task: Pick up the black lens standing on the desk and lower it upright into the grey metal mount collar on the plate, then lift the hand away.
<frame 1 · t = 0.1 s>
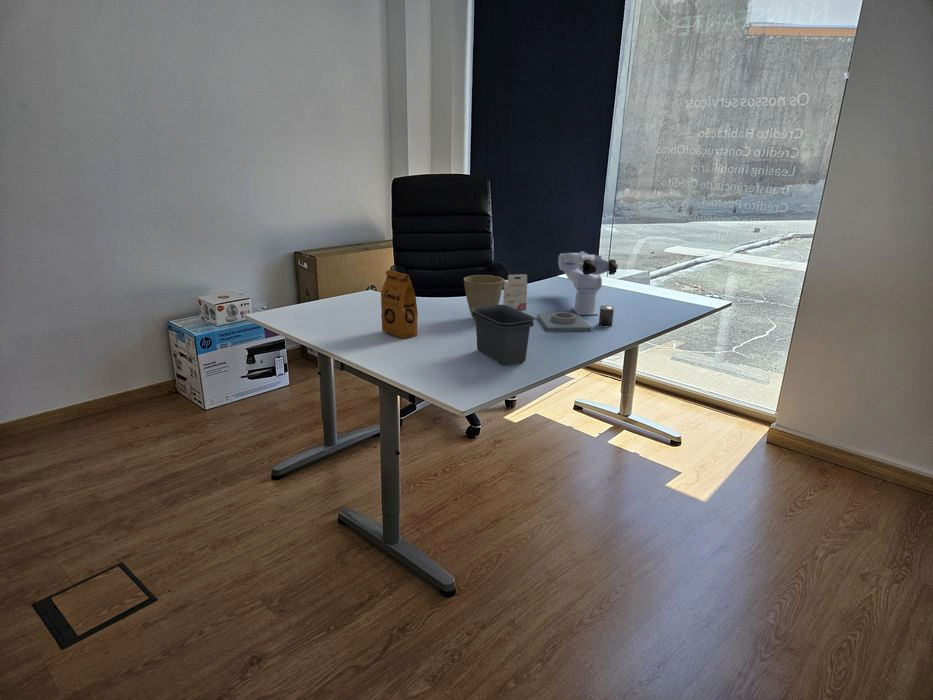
hand: (605, 269, 217), 22 cm above the table, tool horizontal, fingers open, 7 cm apart
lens: (605, 324, 227), on the table
coffee package: (400, 334, 210), on the table
ink cartridge box: (514, 309, 246), on the table
mount plate: (563, 324, 226), on the table
storage bin: (503, 356, 192), on the table
plant pot: (482, 320, 229), on the table
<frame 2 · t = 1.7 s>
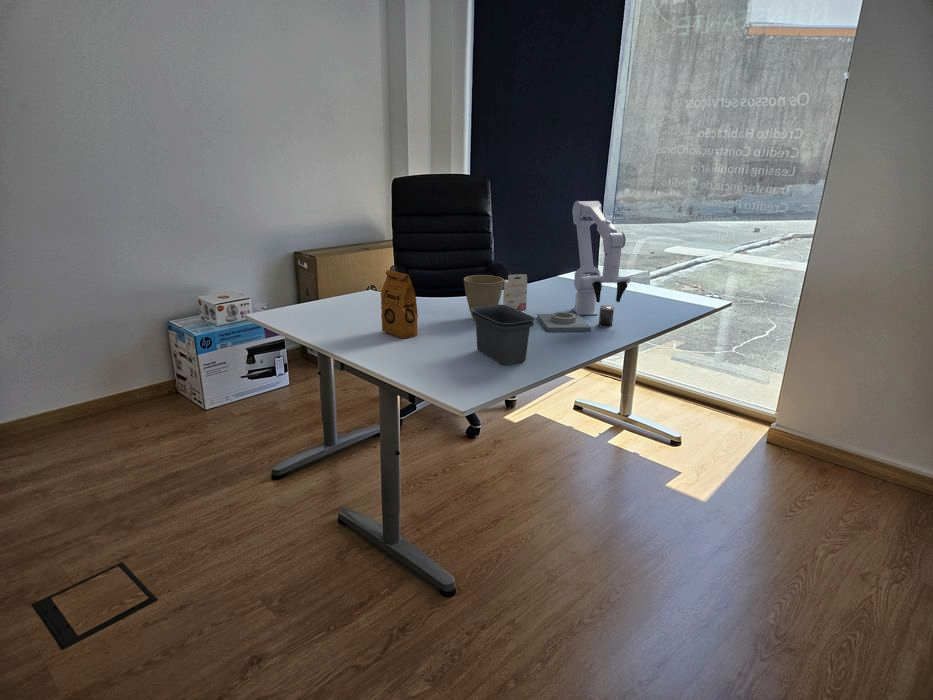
hand: (607, 301, 224), 9 cm above the table, tool pointing down, fingers open, 7 cm apart
nothing on the table moved.
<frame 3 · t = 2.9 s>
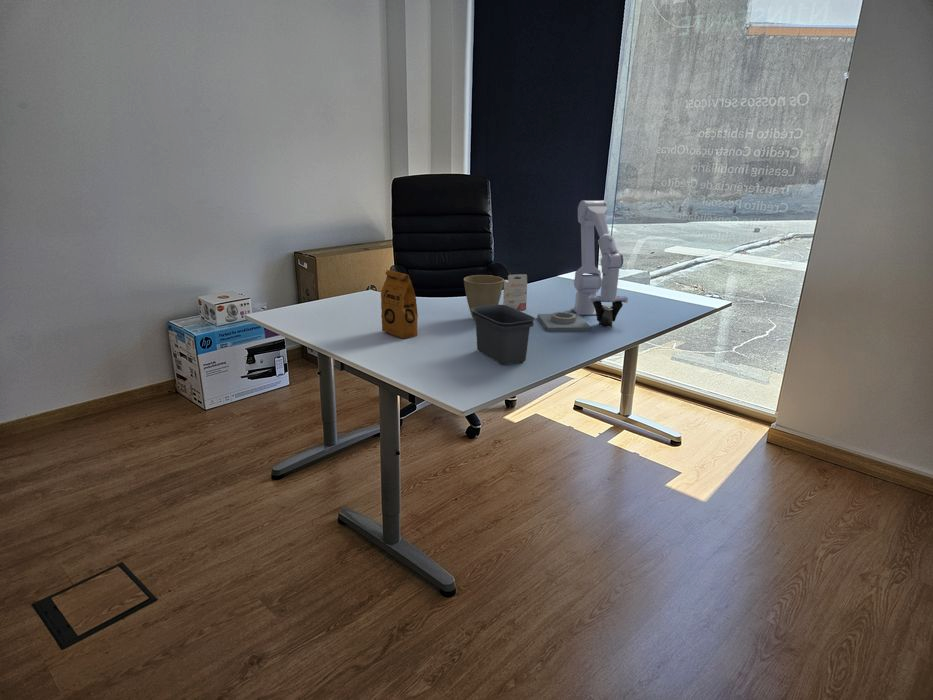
hand: (605, 320, 226), 2 cm above the table, tool pointing down, fingers closed on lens, 5 cm apart
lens: (605, 324, 227), on the table, touching gripper
everything else where it was.
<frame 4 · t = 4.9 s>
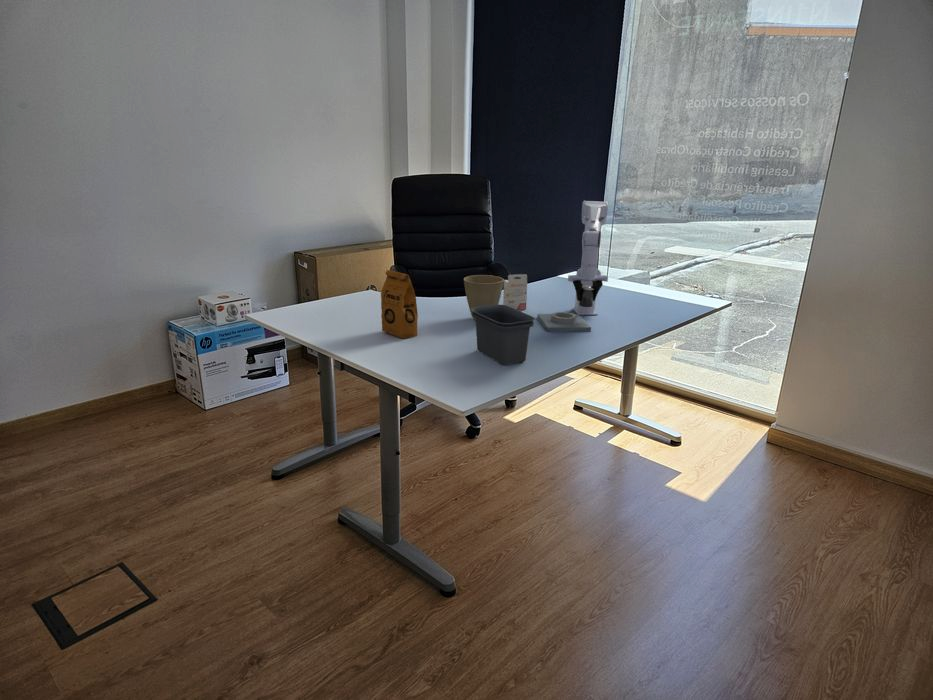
hand: (585, 300, 223), 9 cm above the table, tool pointing down, fingers closed on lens, 5 cm apart
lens: (585, 305, 224), point 8 cm above the table, touching gripper
everything else where it was.
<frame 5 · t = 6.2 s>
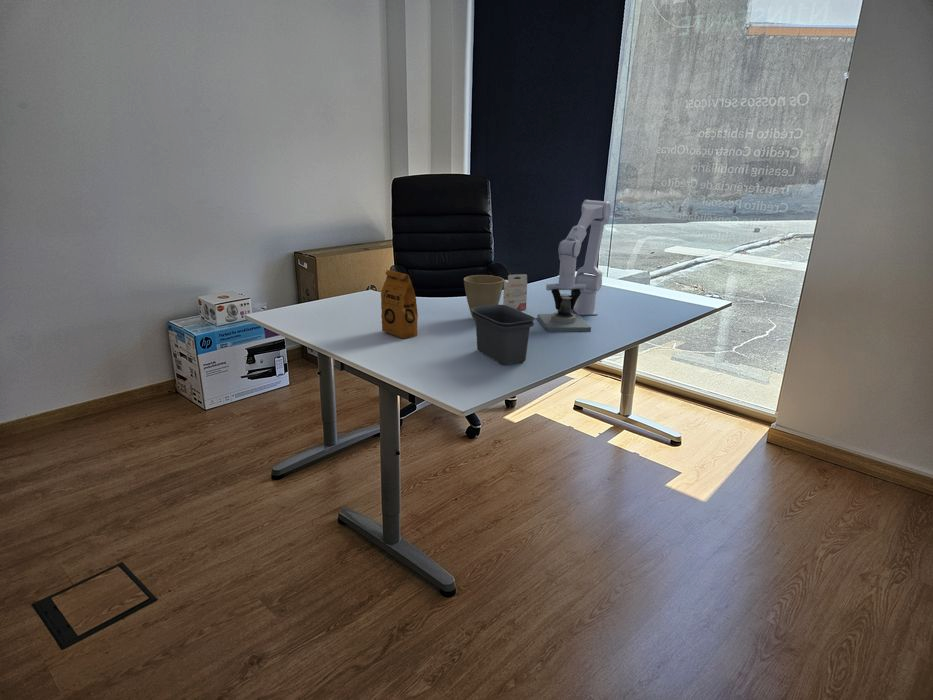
hand: (564, 309, 224), 6 cm above the table, tool pointing down, fingers closed on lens, 5 cm apart
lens: (564, 314, 225), point 4 cm above the table, touching gripper
everything else where it was.
when the fingers open (5 cm above the table, at t = 7.0 s): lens drops 1 cm, resting on mount plate.
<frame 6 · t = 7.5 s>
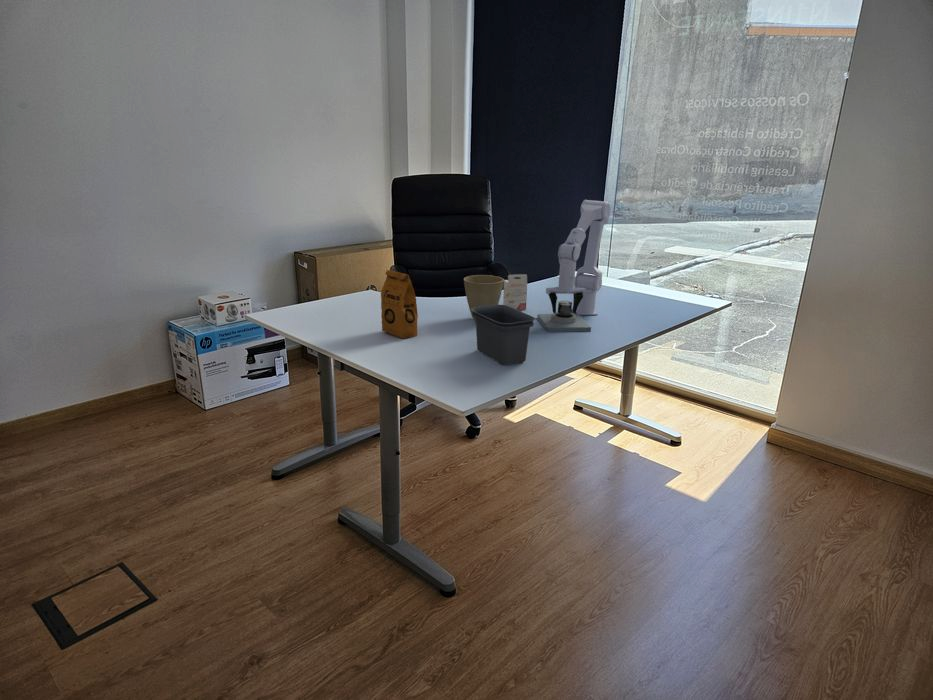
hand: (564, 312, 225), 5 cm above the table, tool pointing down, fingers open, 7 cm apart
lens: (563, 320, 226), point 1 cm above the table, touching mount plate
everything else where it was.
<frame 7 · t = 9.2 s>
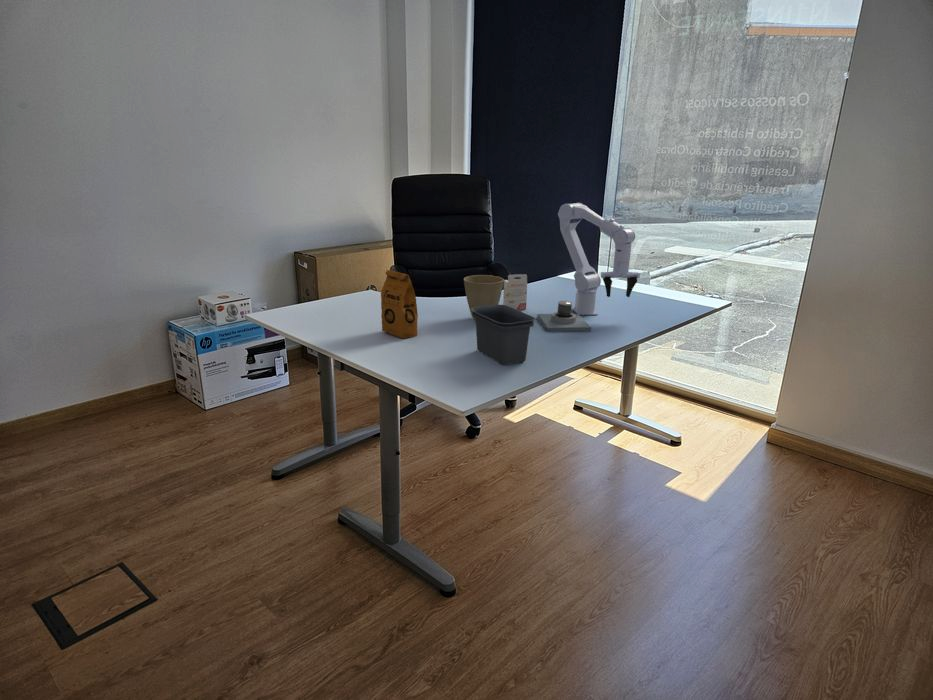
hand: (618, 296, 230), 9 cm above the table, tool pointing down, fingers open, 7 cm apart
nothing on the table moved.
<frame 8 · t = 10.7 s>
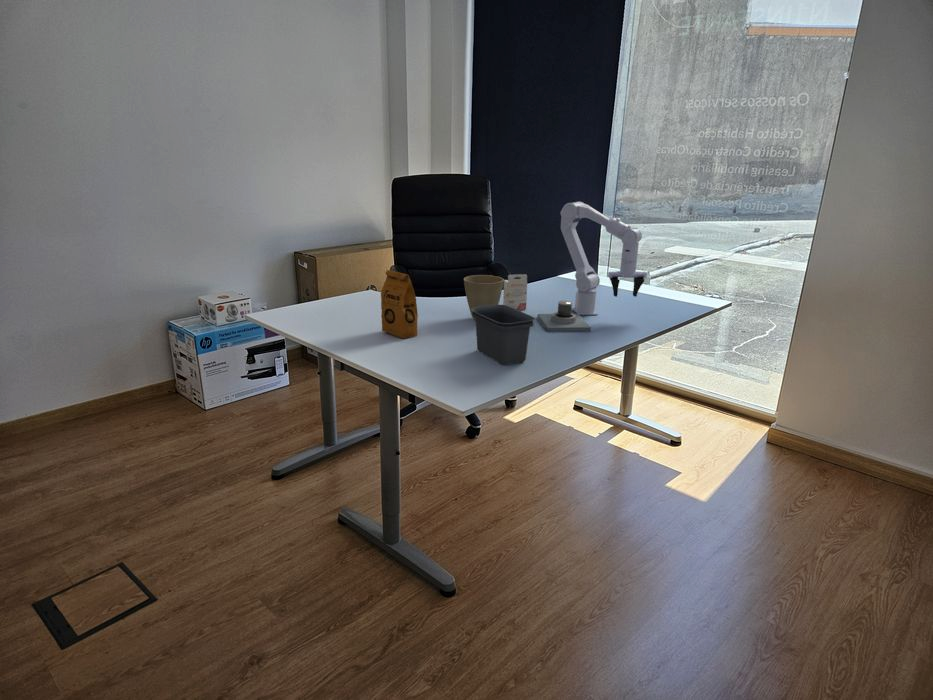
hand: (624, 296, 231), 9 cm above the table, tool pointing down, fingers open, 7 cm apart
nothing on the table moved.
at the end: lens 0.2 cm off-centre on the mount plate, point 1.6 cm above the mount plate's base; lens tilted 1°; the gripper is holding nothing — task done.
